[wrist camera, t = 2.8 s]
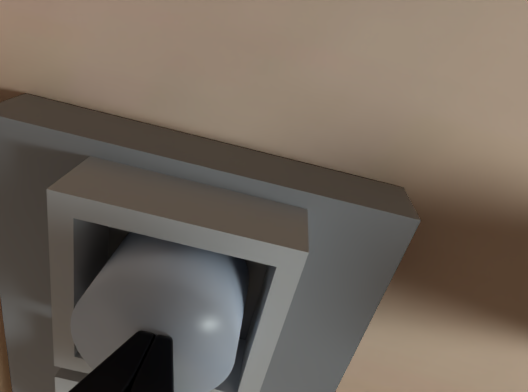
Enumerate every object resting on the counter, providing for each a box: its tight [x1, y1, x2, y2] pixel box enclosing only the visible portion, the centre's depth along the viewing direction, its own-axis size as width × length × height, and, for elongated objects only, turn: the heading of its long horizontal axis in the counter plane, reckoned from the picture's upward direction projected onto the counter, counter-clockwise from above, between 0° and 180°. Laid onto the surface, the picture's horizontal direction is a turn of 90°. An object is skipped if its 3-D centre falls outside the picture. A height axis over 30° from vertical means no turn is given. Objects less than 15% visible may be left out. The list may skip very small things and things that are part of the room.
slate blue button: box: [70, 232, 249, 392], centre depth 10 cm, size 4×4×3 cm
